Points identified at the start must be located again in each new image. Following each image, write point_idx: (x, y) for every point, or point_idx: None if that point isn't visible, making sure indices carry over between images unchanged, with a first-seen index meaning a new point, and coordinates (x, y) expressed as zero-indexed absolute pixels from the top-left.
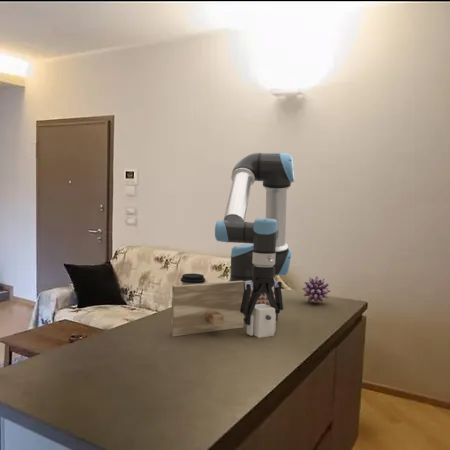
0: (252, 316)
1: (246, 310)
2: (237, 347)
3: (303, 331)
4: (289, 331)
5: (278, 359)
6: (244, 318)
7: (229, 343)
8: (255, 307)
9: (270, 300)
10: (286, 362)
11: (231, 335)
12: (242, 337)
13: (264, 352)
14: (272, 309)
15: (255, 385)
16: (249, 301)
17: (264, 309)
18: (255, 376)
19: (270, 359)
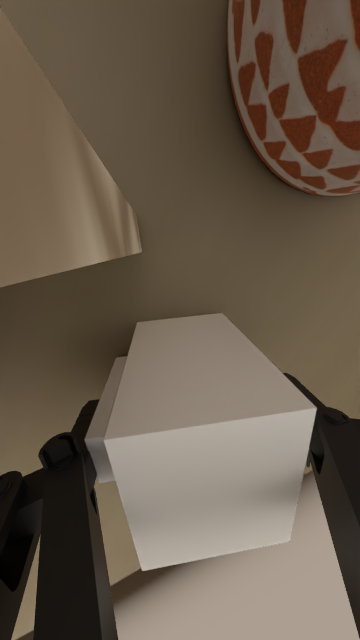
0: (108, 477)
1: (24, 555)
2: (30, 469)
3: (355, 376)
4: (309, 365)
5: (125, 539)
6: (228, 64)
7: (6, 435)
8: (145, 511)
9: (356, 581)
10: (136, 551)
11: (37, 356)
12: (82, 388)
13: (108, 506)
14: (262, 541)
15: (20, 614)
16: (39, 631)
17: (195, 553)
18: (32, 593)
19: (104, 538)
